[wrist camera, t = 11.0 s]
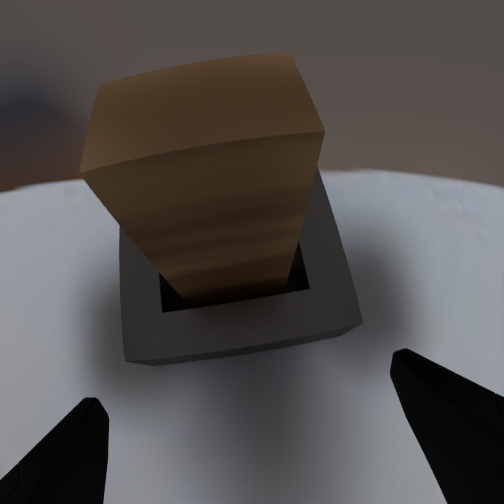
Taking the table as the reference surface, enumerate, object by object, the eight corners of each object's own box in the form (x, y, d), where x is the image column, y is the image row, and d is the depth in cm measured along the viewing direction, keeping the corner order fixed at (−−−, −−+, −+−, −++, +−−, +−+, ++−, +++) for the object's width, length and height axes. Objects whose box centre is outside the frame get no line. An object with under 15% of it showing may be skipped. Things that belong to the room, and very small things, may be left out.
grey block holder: (341, 335, 17) (362, 323, 13) (153, 365, 17) (124, 361, 13) (307, 201, 20) (316, 163, 16) (143, 228, 20) (120, 195, 16)
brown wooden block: (282, 297, 18) (324, 131, 6) (194, 311, 18) (79, 173, 6) (273, 248, 19) (289, 52, 7) (189, 261, 19) (99, 85, 7)
